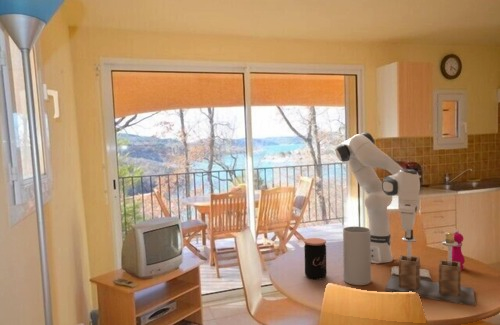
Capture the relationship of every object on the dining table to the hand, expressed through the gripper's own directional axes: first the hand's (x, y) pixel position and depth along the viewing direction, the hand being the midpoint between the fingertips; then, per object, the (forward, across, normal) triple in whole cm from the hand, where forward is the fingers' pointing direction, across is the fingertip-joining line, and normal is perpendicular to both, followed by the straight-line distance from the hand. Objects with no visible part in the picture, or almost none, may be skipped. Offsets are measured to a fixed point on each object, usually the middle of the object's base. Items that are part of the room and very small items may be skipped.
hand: (409, 236), depth 165 cm
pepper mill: (+24, -37, +19) cm, 48 cm away
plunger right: (+12, 0, +16) cm, 20 cm away
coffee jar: (+24, +3, -43) cm, 49 cm away
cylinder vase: (+24, +1, -23) cm, 33 cm away
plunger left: (+12, 0, 0) cm, 12 cm away
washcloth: (+25, -17, -1) cm, 30 cm away
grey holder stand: (+24, 0, +8) cm, 25 cm away
